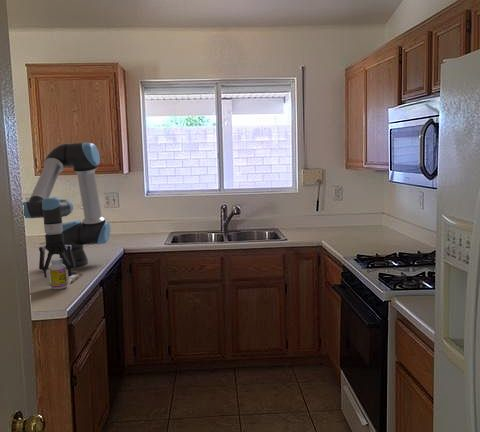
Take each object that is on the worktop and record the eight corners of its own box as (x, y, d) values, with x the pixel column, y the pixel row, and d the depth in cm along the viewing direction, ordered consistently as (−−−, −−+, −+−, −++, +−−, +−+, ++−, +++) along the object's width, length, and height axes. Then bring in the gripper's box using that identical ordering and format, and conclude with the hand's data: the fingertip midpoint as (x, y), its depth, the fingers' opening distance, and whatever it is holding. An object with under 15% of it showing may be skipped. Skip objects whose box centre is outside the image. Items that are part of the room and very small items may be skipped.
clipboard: (61, 276, 251) (61, 271, 251) (82, 275, 251) (82, 270, 251) (50, 284, 235) (49, 279, 235) (72, 283, 236) (71, 278, 235)
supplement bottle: (60, 290, 224) (57, 261, 223) (48, 289, 227) (45, 260, 225) (70, 286, 230) (67, 257, 229) (58, 285, 233) (55, 257, 231)
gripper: (26, 235, 222) (32, 287, 225) (75, 233, 222) (80, 284, 225) (33, 233, 229) (38, 283, 232) (80, 230, 229) (85, 280, 232)
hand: (59, 284), depth 228 cm, fingers open, 8 cm apart
